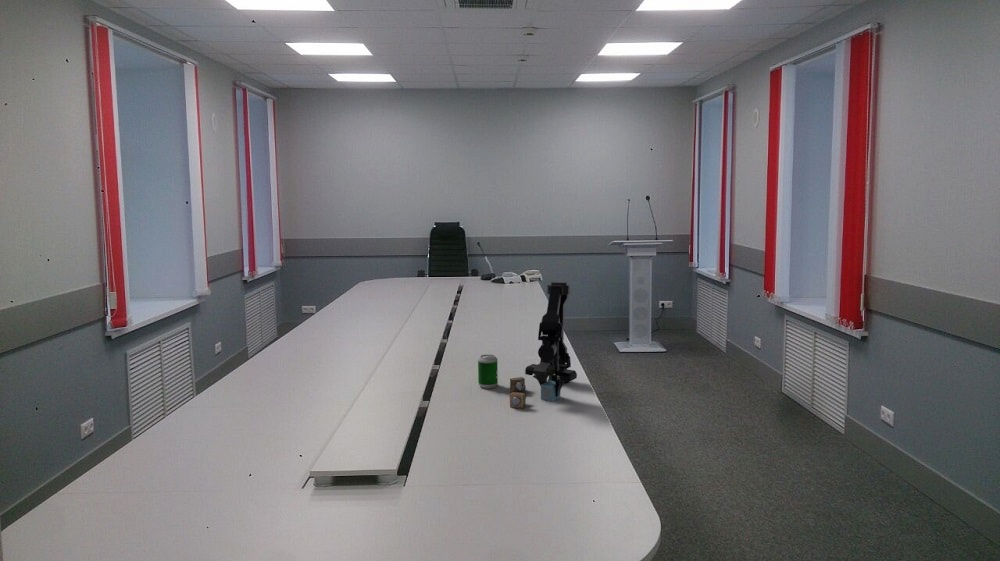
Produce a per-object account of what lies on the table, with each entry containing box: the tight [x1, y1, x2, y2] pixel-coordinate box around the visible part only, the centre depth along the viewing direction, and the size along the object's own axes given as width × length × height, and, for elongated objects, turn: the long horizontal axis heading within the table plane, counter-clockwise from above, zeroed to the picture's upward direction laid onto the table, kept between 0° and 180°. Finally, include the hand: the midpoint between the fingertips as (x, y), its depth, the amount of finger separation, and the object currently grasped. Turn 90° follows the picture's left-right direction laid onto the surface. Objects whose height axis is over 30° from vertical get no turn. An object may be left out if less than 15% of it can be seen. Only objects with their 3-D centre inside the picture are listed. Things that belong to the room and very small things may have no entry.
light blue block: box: [540, 380, 561, 402], centre depth 237 cm, size 6×5×6 cm
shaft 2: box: [509, 392, 527, 410], centre depth 229 cm, size 7×5×5 cm
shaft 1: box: [509, 376, 527, 393], centre depth 245 cm, size 7×5×5 cm
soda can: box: [477, 354, 499, 389], centre depth 252 cm, size 8×8×12 cm
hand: (550, 395), depth 237 cm, fingers closed on light blue block, 5 cm apart
